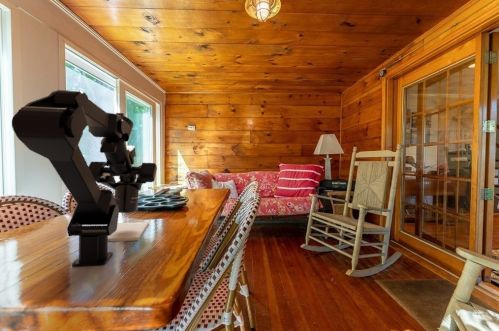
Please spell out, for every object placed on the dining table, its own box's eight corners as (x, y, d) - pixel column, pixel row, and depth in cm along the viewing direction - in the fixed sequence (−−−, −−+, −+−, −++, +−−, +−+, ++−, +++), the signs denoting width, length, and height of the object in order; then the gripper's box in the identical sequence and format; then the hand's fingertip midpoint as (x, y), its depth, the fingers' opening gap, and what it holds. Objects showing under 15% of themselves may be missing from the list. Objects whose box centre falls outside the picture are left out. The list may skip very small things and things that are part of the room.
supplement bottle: (137, 213, 82) (139, 174, 82) (112, 213, 80) (114, 173, 79) (137, 209, 89) (139, 172, 88) (114, 209, 86) (116, 172, 86)
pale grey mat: (138, 240, 76) (138, 237, 76) (91, 241, 73) (91, 239, 73) (148, 224, 93) (148, 222, 93) (111, 225, 91) (111, 223, 91)
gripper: (156, 136, 81) (162, 171, 92) (90, 134, 79) (104, 170, 90) (149, 162, 73) (157, 197, 85) (76, 160, 71) (94, 196, 82)
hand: (128, 189), depth 85 cm, fingers closed on supplement bottle, 7 cm apart
